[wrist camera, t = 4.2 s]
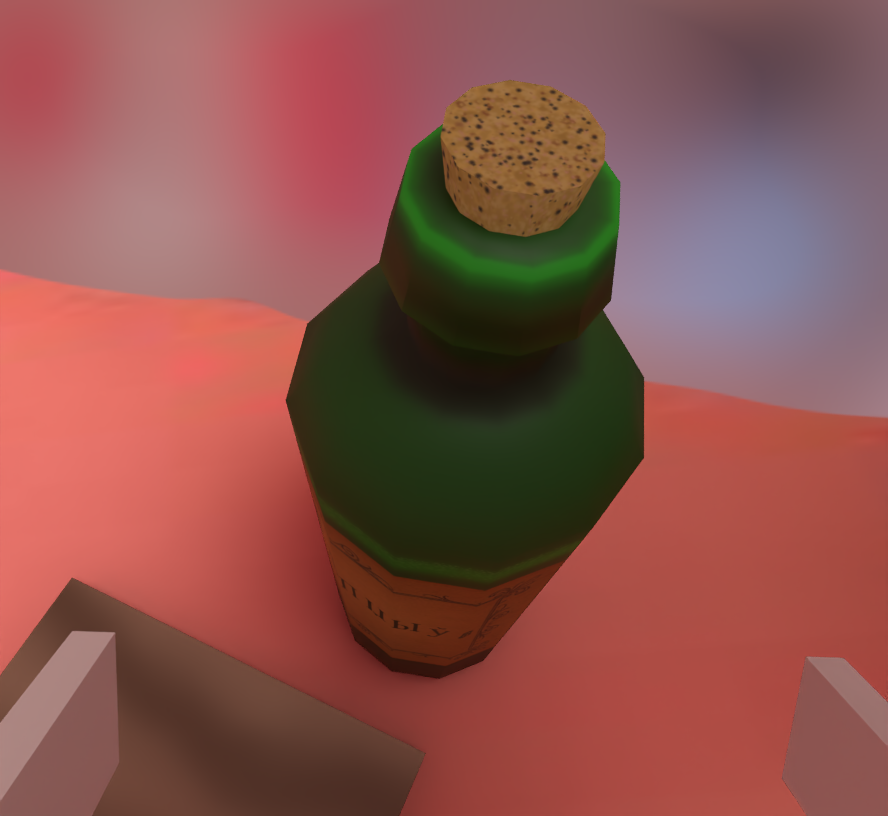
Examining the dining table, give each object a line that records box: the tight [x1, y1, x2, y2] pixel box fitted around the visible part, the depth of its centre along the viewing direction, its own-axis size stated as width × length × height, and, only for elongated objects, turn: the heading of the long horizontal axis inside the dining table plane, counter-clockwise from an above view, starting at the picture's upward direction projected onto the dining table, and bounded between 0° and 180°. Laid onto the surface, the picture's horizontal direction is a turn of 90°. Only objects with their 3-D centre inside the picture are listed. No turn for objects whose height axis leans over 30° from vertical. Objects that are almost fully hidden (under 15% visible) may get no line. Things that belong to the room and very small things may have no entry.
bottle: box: [286, 80, 644, 678], centre depth 27 cm, size 11×11×28 cm
